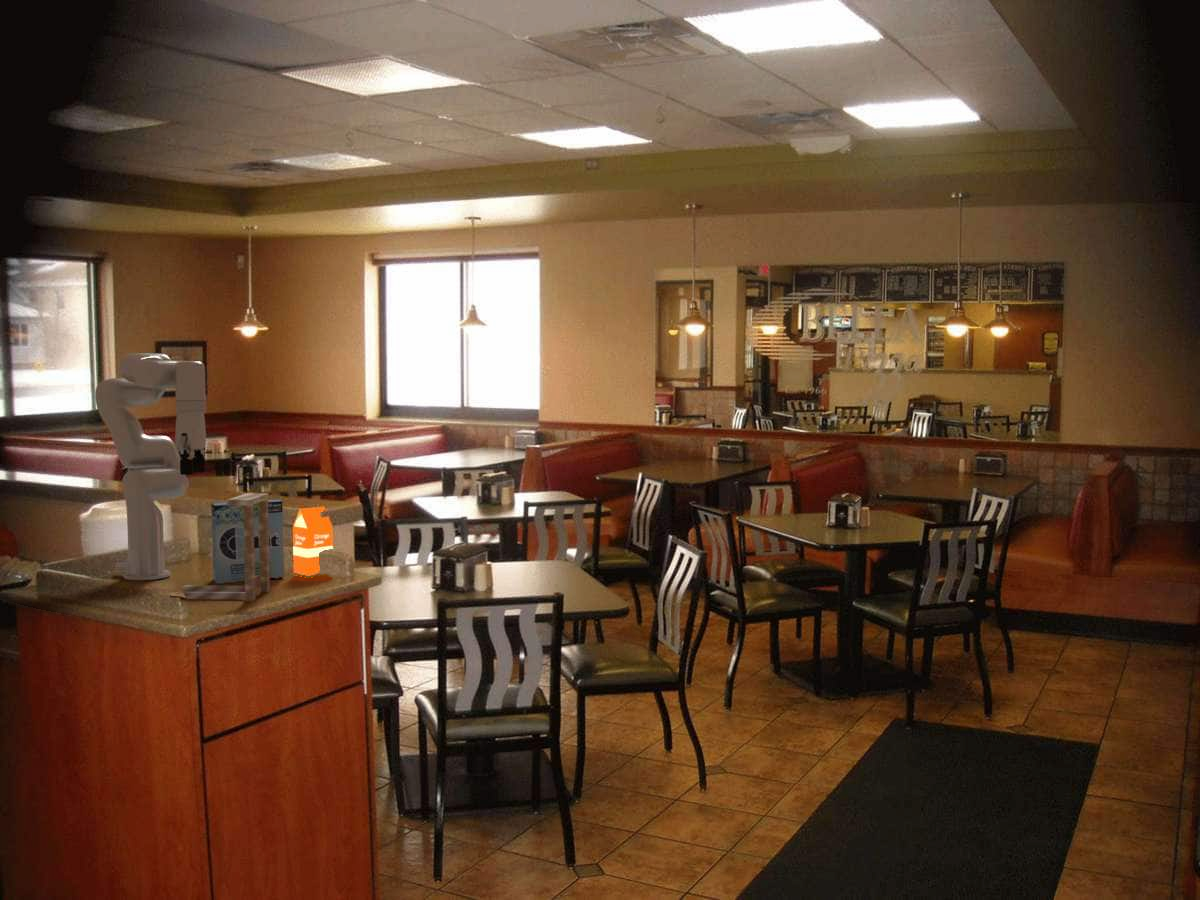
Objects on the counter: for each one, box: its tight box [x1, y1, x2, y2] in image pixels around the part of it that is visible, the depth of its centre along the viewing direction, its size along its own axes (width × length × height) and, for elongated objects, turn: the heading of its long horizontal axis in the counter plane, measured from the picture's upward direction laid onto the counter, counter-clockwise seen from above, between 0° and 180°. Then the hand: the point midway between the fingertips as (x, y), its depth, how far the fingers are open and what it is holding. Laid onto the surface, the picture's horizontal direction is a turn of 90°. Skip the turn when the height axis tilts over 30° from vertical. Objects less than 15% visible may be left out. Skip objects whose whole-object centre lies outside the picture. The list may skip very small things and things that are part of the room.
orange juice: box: [292, 506, 334, 576], centre depth 332 cm, size 8×9×20 cm
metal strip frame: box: [181, 492, 271, 602], centre depth 300 cm, size 23×15×27 cm, turn 88°
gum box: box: [210, 498, 286, 584], centre depth 323 cm, size 20×5×23 cm, turn 119°
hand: (193, 472), depth 299 cm, fingers open, 7 cm apart
